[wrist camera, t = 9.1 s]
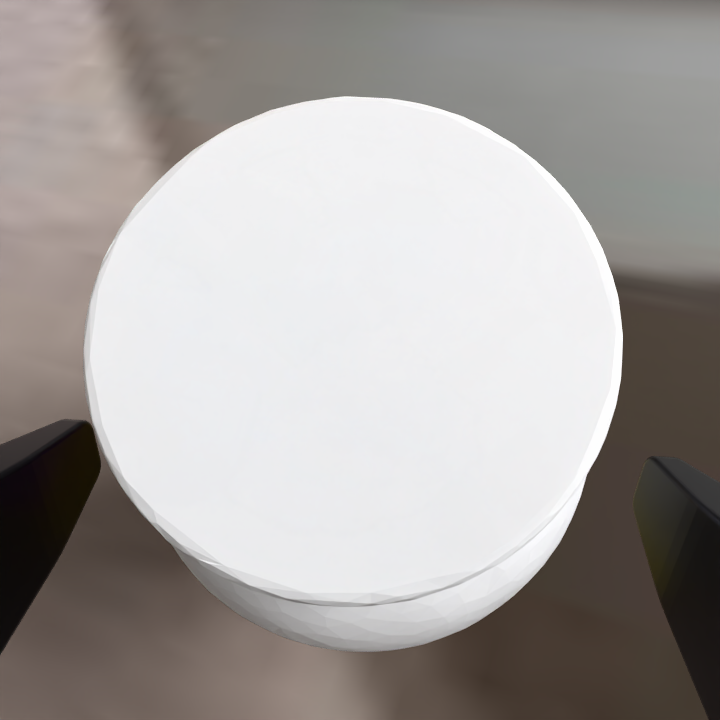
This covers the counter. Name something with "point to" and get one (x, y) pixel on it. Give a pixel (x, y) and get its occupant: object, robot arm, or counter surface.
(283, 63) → the counter surface
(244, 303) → the supplement bottle
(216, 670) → the counter surface
